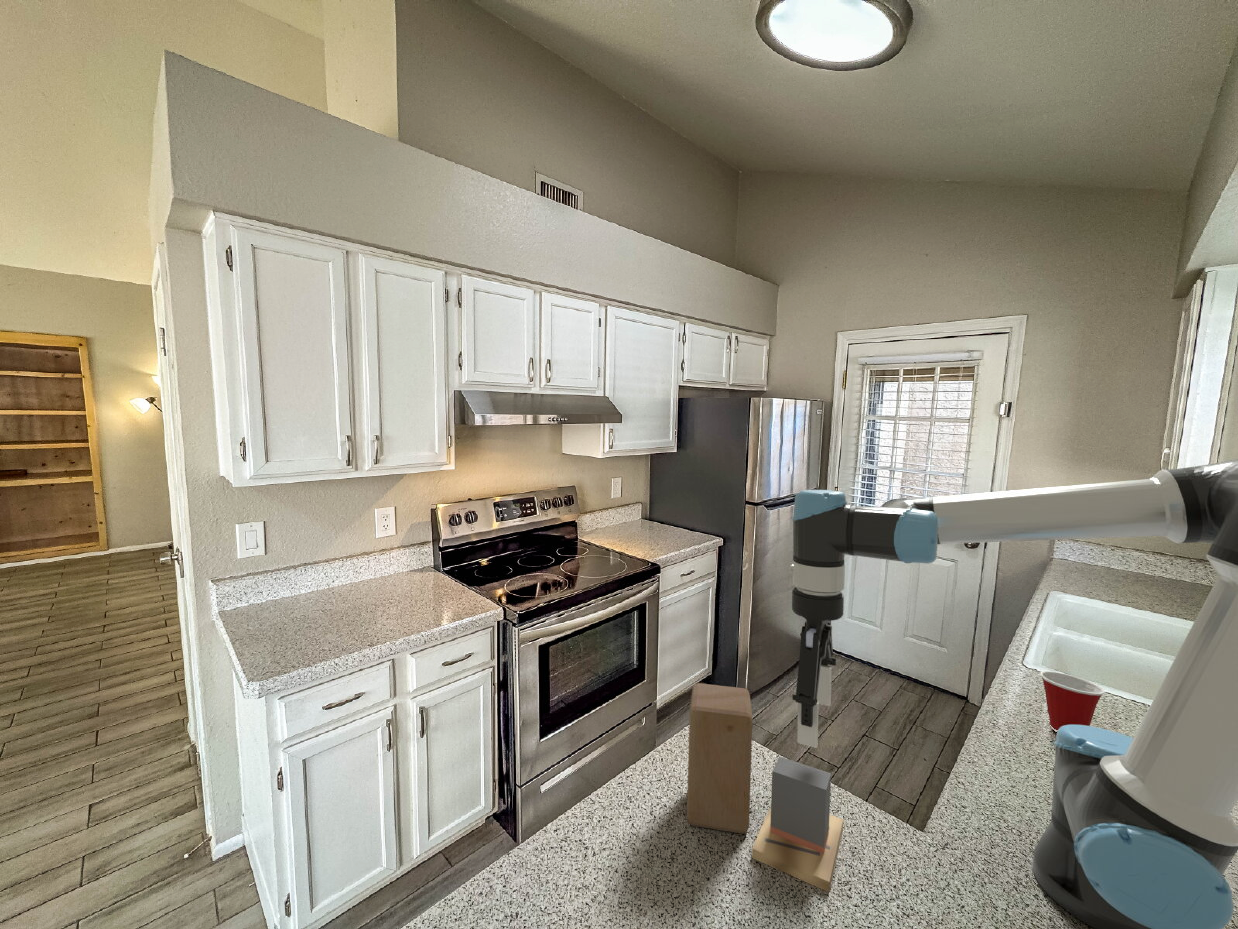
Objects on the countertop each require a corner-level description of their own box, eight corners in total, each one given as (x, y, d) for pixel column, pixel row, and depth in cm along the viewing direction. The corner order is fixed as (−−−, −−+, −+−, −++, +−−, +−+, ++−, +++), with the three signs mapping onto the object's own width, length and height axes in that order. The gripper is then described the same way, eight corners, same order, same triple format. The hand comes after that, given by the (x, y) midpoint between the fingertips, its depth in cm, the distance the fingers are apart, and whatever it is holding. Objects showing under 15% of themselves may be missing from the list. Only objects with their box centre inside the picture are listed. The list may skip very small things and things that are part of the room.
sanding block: (828, 834, 80) (831, 773, 80) (823, 854, 76) (826, 790, 76) (777, 814, 84) (779, 756, 84) (770, 832, 81) (772, 771, 80)
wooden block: (749, 838, 81) (753, 716, 80) (686, 827, 83) (689, 708, 82) (746, 795, 91) (749, 686, 90) (690, 787, 93) (692, 680, 92)
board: (842, 828, 84) (843, 819, 84) (829, 892, 72) (829, 882, 72) (775, 802, 89) (775, 794, 89) (752, 858, 77) (752, 848, 77)
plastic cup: (1114, 743, 110) (1118, 688, 109) (1079, 750, 107) (1082, 695, 106) (1058, 716, 120) (1061, 667, 119) (1025, 723, 117) (1028, 672, 116)
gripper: (806, 569, 92) (804, 684, 93) (774, 607, 70) (772, 756, 71) (852, 574, 88) (849, 694, 89) (832, 616, 67) (829, 774, 67)
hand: (815, 722), depth 80 cm, fingers open, 13 cm apart
